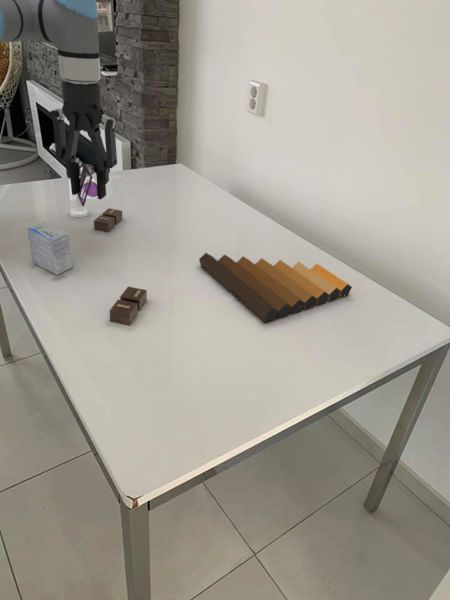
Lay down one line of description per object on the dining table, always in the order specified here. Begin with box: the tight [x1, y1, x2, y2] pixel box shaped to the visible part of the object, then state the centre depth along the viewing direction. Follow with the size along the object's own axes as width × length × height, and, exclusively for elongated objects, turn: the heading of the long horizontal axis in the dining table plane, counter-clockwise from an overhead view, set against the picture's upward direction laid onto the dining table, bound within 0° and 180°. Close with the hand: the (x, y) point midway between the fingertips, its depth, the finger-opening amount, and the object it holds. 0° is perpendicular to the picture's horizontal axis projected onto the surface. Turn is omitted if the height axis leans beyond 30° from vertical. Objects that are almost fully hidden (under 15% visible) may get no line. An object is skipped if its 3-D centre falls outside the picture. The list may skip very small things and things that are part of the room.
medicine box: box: [27, 222, 73, 276], centre depth 98 cm, size 8×4×9 cm, turn 56°
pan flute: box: [198, 252, 353, 324], centre depth 103 cm, size 25×3×25 cm
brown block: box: [93, 208, 123, 233], centre depth 120 cm, size 4×9×3 cm, turn 168°
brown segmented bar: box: [109, 286, 148, 326], centre depth 88 cm, size 4×9×3 cm, turn 168°
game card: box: [77, 163, 98, 207], centre depth 99 cm, size 7×5×9 cm
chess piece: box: [69, 193, 89, 218], centre depth 121 cm, size 5×5×10 cm
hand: (89, 194), depth 100 cm, fingers closed on game card, 5 cm apart
